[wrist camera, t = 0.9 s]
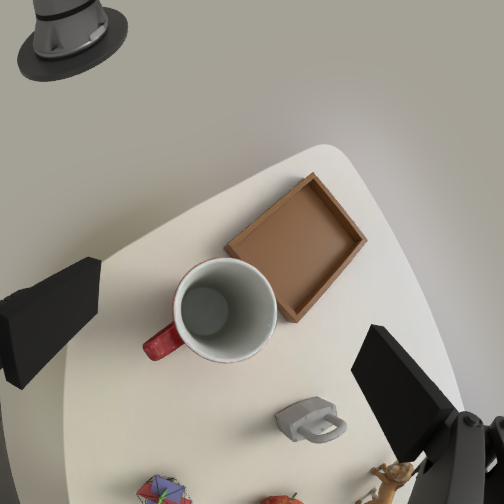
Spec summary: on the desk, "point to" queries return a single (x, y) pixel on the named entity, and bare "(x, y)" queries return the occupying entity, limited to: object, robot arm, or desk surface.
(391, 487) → the lion figurine
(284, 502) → the pomegranate
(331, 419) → the padlock
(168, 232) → the desk surface
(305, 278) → the tray
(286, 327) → the desk surface
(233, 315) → the mug
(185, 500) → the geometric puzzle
